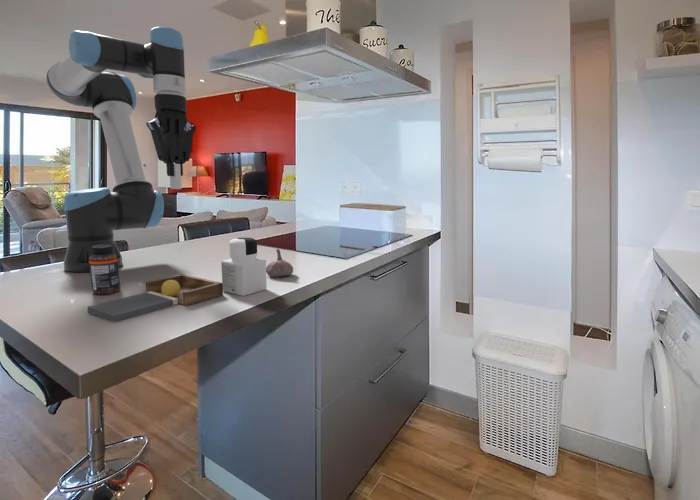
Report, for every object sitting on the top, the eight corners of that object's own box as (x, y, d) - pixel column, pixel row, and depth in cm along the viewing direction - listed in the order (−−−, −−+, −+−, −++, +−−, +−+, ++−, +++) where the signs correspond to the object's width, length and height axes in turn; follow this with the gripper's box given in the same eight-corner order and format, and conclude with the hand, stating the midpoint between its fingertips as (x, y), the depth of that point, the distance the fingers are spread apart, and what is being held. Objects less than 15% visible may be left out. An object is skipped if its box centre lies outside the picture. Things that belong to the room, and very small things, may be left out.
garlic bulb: (264, 279, 115) (263, 250, 114) (267, 273, 123) (267, 246, 121) (292, 279, 116) (292, 250, 114) (294, 273, 123) (293, 246, 122)
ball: (165, 299, 98) (154, 289, 96) (175, 284, 100) (164, 275, 97) (176, 301, 96) (165, 292, 93) (186, 287, 98) (175, 277, 95)
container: (246, 284, 110) (244, 235, 107) (267, 289, 105) (266, 238, 103) (221, 291, 103) (219, 238, 101) (243, 296, 99) (241, 242, 97)
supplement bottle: (99, 288, 104) (95, 243, 102) (124, 288, 105) (120, 243, 103) (87, 295, 99) (82, 247, 97) (113, 295, 99) (109, 247, 97)
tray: (146, 294, 100) (145, 282, 99) (183, 285, 108) (182, 274, 107) (186, 306, 92) (185, 292, 91) (222, 295, 100) (222, 283, 99)
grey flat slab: (88, 312, 87) (87, 306, 87) (151, 296, 99) (150, 291, 98) (114, 321, 82) (113, 315, 82) (177, 303, 93) (177, 298, 93)
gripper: (154, 89, 100) (161, 190, 104) (201, 97, 111) (205, 188, 115) (137, 92, 104) (144, 189, 109) (183, 100, 115) (188, 187, 119)
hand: (176, 188), depth 112 cm, fingers closed
